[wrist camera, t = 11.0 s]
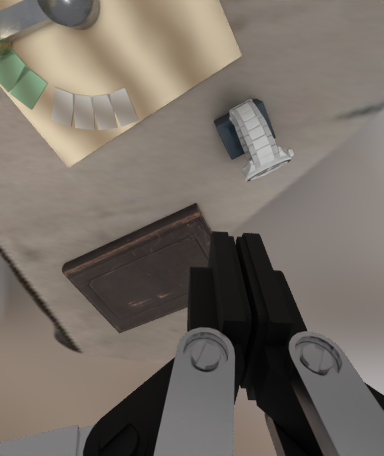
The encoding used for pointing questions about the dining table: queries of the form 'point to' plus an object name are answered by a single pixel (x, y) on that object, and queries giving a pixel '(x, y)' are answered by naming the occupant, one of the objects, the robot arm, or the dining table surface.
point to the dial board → (113, 68)
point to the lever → (44, 17)
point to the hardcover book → (143, 270)
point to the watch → (252, 139)
